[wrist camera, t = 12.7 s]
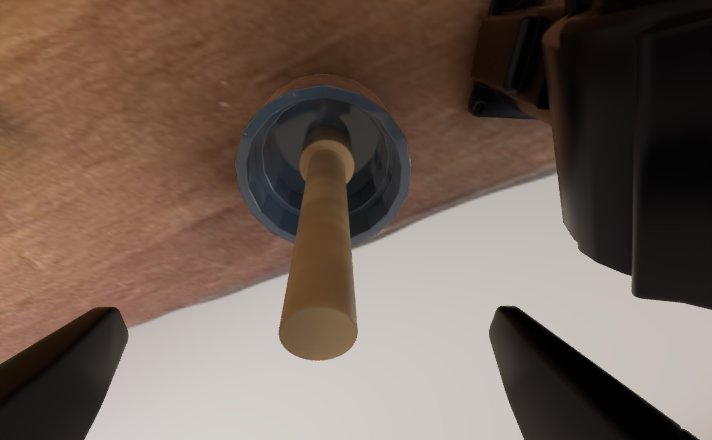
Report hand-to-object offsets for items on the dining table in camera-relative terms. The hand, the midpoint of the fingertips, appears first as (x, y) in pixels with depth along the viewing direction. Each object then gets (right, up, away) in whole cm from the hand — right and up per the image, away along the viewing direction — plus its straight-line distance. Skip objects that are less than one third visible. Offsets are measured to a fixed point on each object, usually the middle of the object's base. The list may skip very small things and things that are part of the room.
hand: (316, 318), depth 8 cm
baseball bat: (-1, +6, +11) cm, 13 cm away
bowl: (-1, +7, +11) cm, 13 cm away
